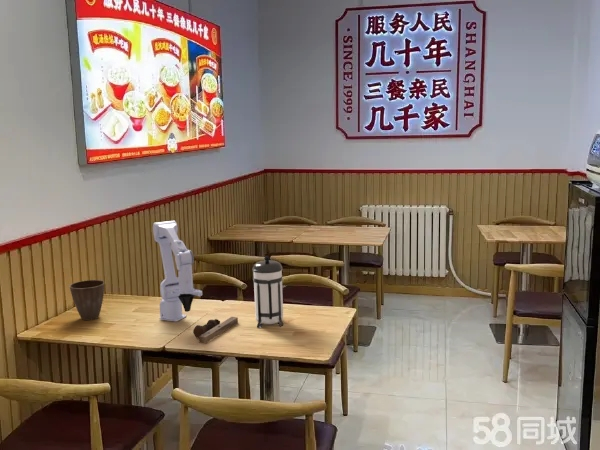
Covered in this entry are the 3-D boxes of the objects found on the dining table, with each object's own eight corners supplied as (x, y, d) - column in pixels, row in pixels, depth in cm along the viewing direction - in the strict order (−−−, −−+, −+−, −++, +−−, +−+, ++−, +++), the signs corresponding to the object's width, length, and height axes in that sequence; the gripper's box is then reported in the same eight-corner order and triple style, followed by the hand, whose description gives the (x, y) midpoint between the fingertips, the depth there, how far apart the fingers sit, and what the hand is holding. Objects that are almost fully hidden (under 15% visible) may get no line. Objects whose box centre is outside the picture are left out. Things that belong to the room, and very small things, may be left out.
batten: (199, 342, 233) (198, 336, 233) (231, 322, 257) (231, 316, 256) (205, 343, 232) (205, 337, 232) (237, 322, 256) (237, 316, 255)
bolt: (219, 330, 252) (200, 341, 238) (210, 324, 253) (191, 334, 240) (224, 320, 250) (206, 330, 236) (215, 313, 252) (196, 323, 238)
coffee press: (243, 325, 253) (240, 257, 248) (269, 315, 264) (267, 250, 259) (271, 333, 241) (268, 262, 236) (298, 323, 252) (295, 255, 247)
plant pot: (68, 317, 270) (65, 283, 267) (100, 310, 279) (97, 278, 276) (78, 325, 258) (75, 290, 255) (111, 318, 267) (109, 284, 264)
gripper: (165, 280, 244) (167, 312, 246) (195, 283, 238) (197, 315, 240) (175, 276, 250) (177, 307, 252) (204, 279, 244) (206, 310, 247)
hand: (187, 310), depth 247 cm, fingers closed
